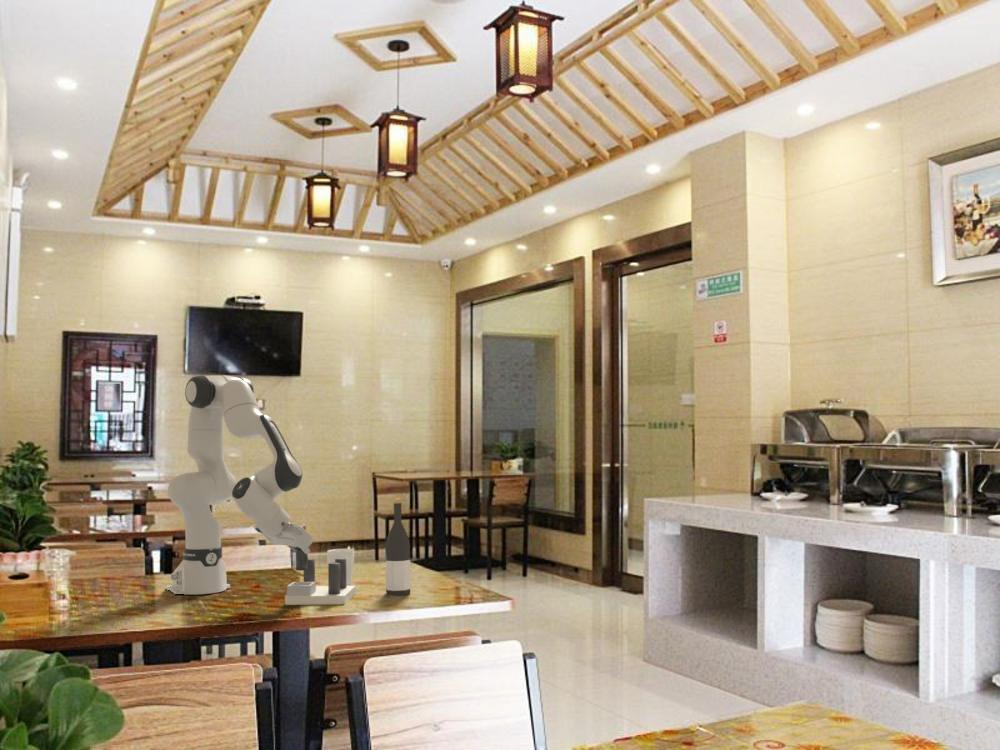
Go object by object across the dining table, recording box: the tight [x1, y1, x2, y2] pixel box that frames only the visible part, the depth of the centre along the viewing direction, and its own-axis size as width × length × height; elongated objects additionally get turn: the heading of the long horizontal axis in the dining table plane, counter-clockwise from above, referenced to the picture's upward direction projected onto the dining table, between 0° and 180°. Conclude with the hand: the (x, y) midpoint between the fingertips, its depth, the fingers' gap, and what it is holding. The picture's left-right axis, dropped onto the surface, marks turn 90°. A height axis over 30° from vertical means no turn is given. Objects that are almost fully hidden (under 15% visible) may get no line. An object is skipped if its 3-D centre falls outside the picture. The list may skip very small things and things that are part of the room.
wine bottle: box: [385, 497, 411, 596], centre depth 292 cm, size 8×8×30 cm
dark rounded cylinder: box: [295, 547, 309, 571], centre depth 279 cm, size 4×4×9 cm
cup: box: [326, 548, 355, 586], centre depth 306 cm, size 9×9×12 cm
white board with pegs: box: [284, 558, 357, 606], centre depth 283 cm, size 18×18×12 cm
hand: (303, 552), depth 279 cm, fingers closed on dark rounded cylinder, 3 cm apart
